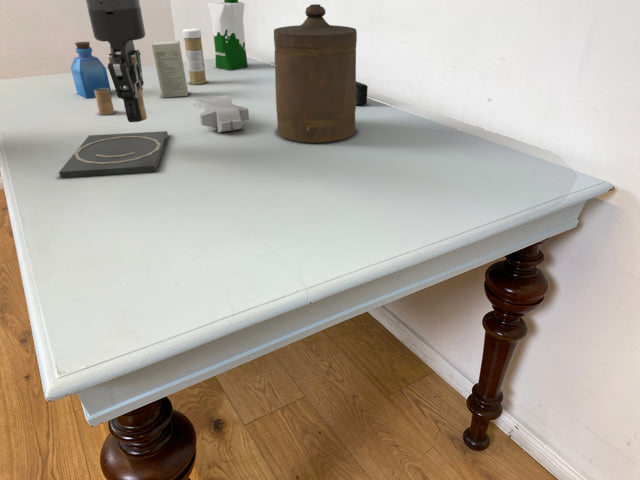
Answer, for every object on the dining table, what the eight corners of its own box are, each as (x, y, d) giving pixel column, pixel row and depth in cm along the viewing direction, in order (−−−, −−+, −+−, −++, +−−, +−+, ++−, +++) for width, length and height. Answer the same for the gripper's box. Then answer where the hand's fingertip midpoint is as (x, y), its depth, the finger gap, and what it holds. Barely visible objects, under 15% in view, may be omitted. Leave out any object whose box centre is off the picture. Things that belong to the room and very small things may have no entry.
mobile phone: (370, 83, 107) (328, 71, 117) (360, 85, 105) (319, 72, 115) (368, 105, 109) (328, 91, 119) (358, 108, 108) (318, 93, 118)
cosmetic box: (188, 92, 121) (180, 40, 115) (187, 96, 117) (180, 42, 111) (161, 93, 120) (152, 41, 113) (160, 98, 116) (151, 43, 110)
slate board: (60, 178, 73) (58, 171, 73) (90, 140, 89) (88, 134, 88) (155, 171, 75) (153, 165, 74) (168, 136, 90) (167, 130, 90)
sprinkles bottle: (194, 80, 132) (187, 27, 126) (209, 81, 132) (203, 28, 125) (186, 84, 129) (179, 30, 122) (202, 85, 128) (195, 30, 121)
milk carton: (252, 66, 150) (246, -6, 140) (229, 71, 144) (222, -4, 134) (233, 63, 155) (227, -7, 145) (211, 67, 149) (202, -5, 139)
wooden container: (328, 116, 101) (328, 0, 90) (370, 135, 90) (376, 5, 79) (264, 127, 95) (256, 3, 84) (301, 149, 84) (297, 9, 73)
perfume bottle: (77, 93, 120) (64, 42, 114) (102, 89, 124) (90, 40, 118) (86, 98, 116) (73, 45, 110) (111, 94, 120) (100, 42, 114)
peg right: (126, 122, 80) (120, 90, 77) (130, 117, 82) (123, 86, 80) (145, 121, 80) (139, 89, 78) (148, 116, 83) (142, 85, 80)
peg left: (98, 115, 103) (92, 90, 101) (101, 111, 106) (95, 87, 103) (112, 114, 104) (107, 90, 101) (115, 110, 106) (110, 87, 104)
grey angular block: (205, 116, 87) (187, 89, 98) (208, 142, 90) (190, 114, 101) (255, 110, 91) (232, 85, 101) (256, 135, 94) (233, 108, 104)
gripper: (98, 2, 78) (122, 108, 87) (74, 9, 66) (104, 132, 75) (146, 1, 79) (164, 106, 88) (131, 8, 67) (154, 129, 76)
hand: (137, 117), depth 81 cm, fingers closed on peg right, 3 cm apart
